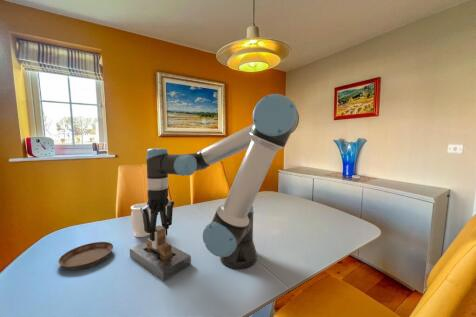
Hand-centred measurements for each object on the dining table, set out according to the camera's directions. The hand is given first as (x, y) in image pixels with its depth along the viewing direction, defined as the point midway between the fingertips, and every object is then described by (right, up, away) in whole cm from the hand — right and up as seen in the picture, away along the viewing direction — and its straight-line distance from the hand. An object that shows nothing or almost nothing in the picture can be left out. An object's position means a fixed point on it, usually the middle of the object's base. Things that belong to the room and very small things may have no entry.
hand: (159, 245), depth 80 cm
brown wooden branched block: (0, -6, 0) cm, 6 cm away
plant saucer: (-29, -6, +1) cm, 30 cm away
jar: (-18, -4, +24) cm, 30 cm away
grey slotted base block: (0, -6, 0) cm, 6 cm away
